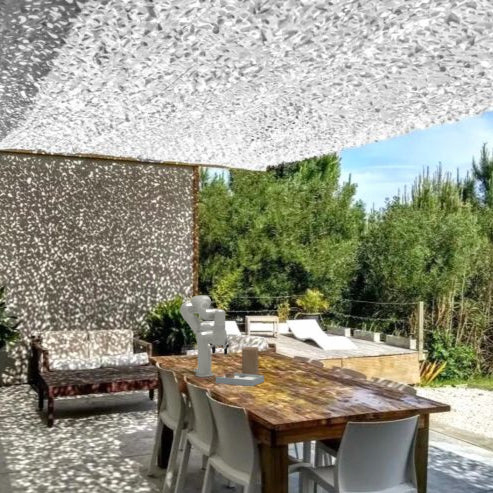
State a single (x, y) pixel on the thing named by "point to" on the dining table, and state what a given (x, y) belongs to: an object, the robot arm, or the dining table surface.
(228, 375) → the walnut block
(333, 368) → the dining table surface
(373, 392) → the dining table surface
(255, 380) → the trap box
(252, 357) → the block
